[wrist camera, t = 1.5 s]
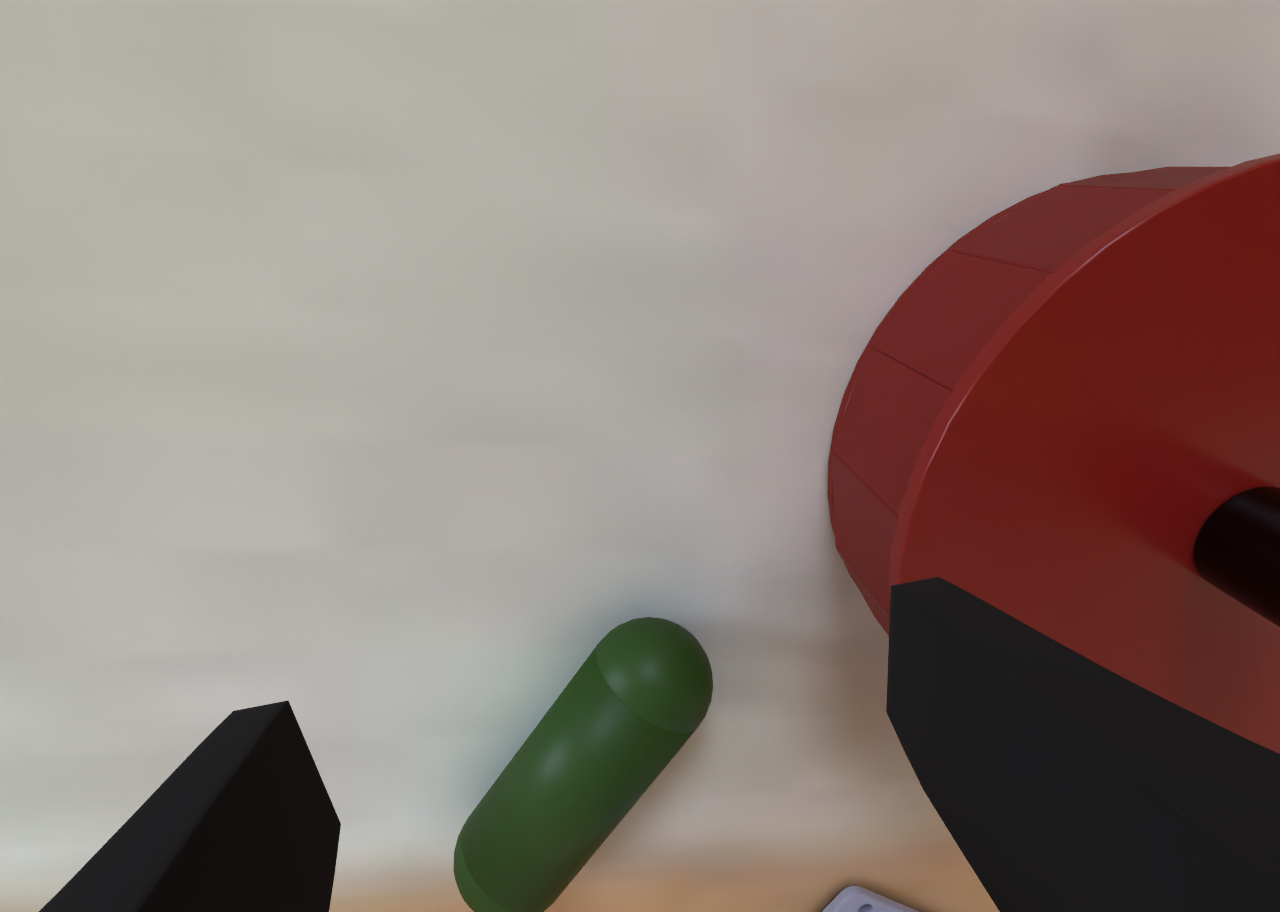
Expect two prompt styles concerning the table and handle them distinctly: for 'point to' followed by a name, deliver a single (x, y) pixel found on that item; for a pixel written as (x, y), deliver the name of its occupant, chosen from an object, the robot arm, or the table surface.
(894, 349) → the pot
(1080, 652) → the lid
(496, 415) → the table surface
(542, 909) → the cucumber
